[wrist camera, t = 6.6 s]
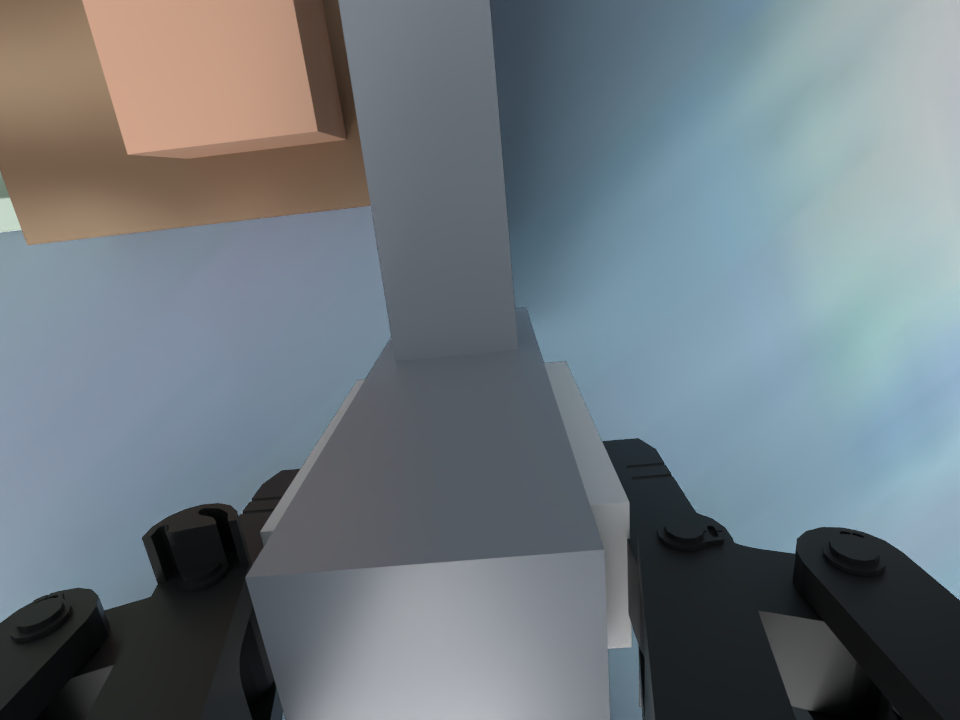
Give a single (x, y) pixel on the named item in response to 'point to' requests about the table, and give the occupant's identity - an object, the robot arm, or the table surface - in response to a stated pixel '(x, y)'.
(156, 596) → the robot arm
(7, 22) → the brown wooden board
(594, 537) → the scraper
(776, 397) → the table surface
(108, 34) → the tile
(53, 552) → the table surface
